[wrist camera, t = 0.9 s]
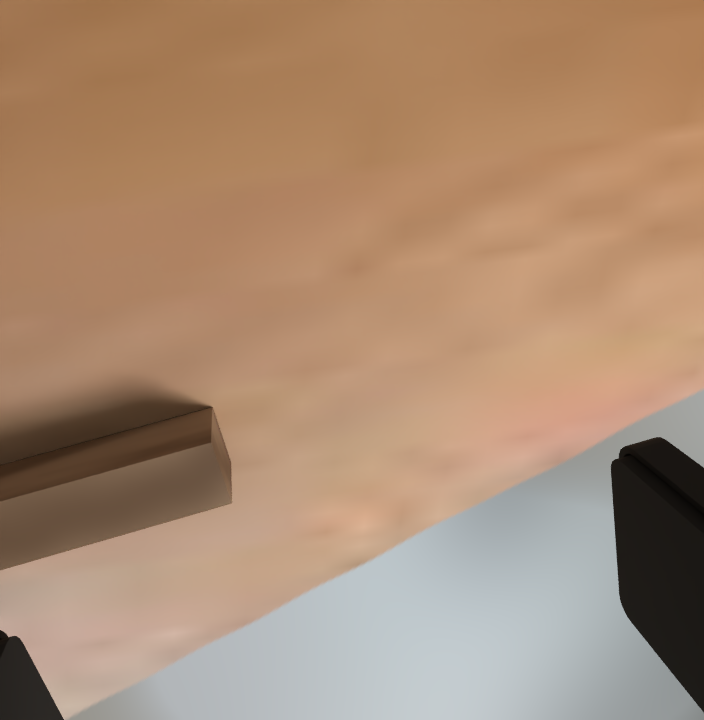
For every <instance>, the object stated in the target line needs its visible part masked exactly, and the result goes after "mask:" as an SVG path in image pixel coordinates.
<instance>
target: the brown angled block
mask: <svg viewBox="0 0 704 720" xmlns="http://www.w3.org/2000/svg"><path fill="white" fill-rule="evenodd" d="M231 503H232V485H231V461H230V458H229V455H228V452H227V449H226V446H225V443H224V440H223V437H222V434H221V431H220V428H219V425H218V422H217V419H216V416H215V413H214V410H213V407H211V408H208V409H204V410H200V411H197V412H193V413H189V414H186V415H182V416H179V417H175V418H171V419H168V420H164V421H160V422H157V423H153V424H149V425H146V426H142V427H139V428H135V429H131V430H128V431H124V432H120V433H117V434H113V435H109V436H106V437H102V438H98V439H95V440H91V441H88V442H84V443H80V444H77V445H73V446H69V447H66V448H62V449H58V450H55V451H51V452H48V453H44V454H40V455H37V456H33V457H29V458H26V459H22V460H18V461H15V462H11V463H8V464H4V465H0V570H3V569H6V568H10V567H13V566H17V565H20V564H24V563H27V562H31V561H34V560H38V559H41V558H44V557H48V556H51V555H55V554H58V553H62V552H65V551H69V550H72V549H76V548H79V547H83V546H86V545H89V544H93V543H96V542H100V541H103V540H107V539H110V538H114V537H117V536H121V535H124V534H128V533H131V532H134V531H138V530H141V529H145V528H148V527H152V526H155V525H159V524H162V523H166V522H169V521H173V520H176V519H179V518H183V517H186V516H190V515H193V514H197V513H200V512H204V511H207V510H211V509H214V508H218V507H221V506H224V505H228V504H231Z"/></svg>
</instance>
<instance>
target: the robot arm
mask: <svg viewBox="0 0 704 720" xmlns="http://www.w3.org/2000/svg"><path fill="white" fill-rule="evenodd" d="M611 477H612V492H613V506H614V521H615V536H616V550H617V565H618V581H619V595H620V600H621V603H622V606H623V608H624V611H625V613H626V615H627V617H628V618H629V619H630V621H631V622H632V624H633V625H634V626H635V627H636V629H637V630H638V631H639V632H640V633H641V635H642V636H643V637H644V638H645V640H646V641H647V642H648V643H649V645H650V646H651V647H652V648H653V650H654V651H655V652H656V653H657V655H658V656H659V657H660V658H661V660H662V661H663V662H664V663H665V665H666V666H667V667H668V668H669V669H670V671H671V672H672V673H673V674H674V676H675V677H676V678H677V680H678V681H679V682H680V683H681V685H682V686H683V687H684V688H685V690H687V692H688V693H689V694H690V696H691V697H692V698H693V699H694V701H695V702H696V703H697V704H698V706H699V707H700V708H701V709H702V711H703V712H704V468H703V467H702V466H700V465H699V464H698V463H696V462H695V461H694V460H692V459H691V458H690V457H688V456H687V455H686V454H684V453H683V452H681V451H680V450H679V449H677V448H676V447H675V446H673V445H672V444H670V443H669V442H668V441H666V440H665V439H663V438H661V437H656V438H653V439H649V440H646V441H642V442H639V443H635V444H632V445H629V446H625V447H623V448H622V449H621V450H620V453H619V459H615V460H614V461H612V464H611ZM0 720H64V719H63V717H62V715H61V713H60V712H59V710H58V708H57V706H56V704H55V702H54V700H53V699H52V697H51V695H50V693H49V691H48V689H47V687H46V685H45V684H44V682H43V680H42V678H41V676H40V674H39V672H38V670H37V669H36V667H35V665H34V663H33V661H32V659H31V657H30V655H29V654H28V652H27V650H26V648H25V646H24V644H23V642H22V641H21V640H20V638H18V637H17V636H12V637H8V636H7V635H6V633H4V632H3V631H1V630H0Z"/></svg>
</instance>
